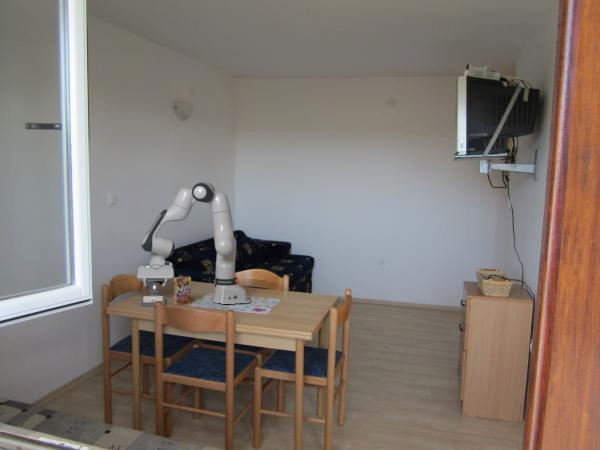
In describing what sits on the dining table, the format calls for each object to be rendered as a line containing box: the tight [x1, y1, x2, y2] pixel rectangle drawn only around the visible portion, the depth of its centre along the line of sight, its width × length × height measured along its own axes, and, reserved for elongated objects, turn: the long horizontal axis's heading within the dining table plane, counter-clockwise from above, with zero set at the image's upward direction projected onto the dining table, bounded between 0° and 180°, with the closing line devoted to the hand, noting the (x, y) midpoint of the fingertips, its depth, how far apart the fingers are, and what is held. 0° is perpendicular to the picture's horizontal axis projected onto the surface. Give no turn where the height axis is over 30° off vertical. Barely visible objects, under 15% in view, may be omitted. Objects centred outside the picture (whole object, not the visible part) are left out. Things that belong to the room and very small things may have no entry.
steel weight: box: [149, 281, 161, 296], centre depth 258 cm, size 5×5×8 cm
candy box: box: [172, 275, 192, 306], centre depth 259 cm, size 9×4×15 cm, turn 123°
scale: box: [141, 295, 167, 308], centre depth 257 cm, size 12×12×6 cm
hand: (154, 286), depth 257 cm, fingers open, 8 cm apart
